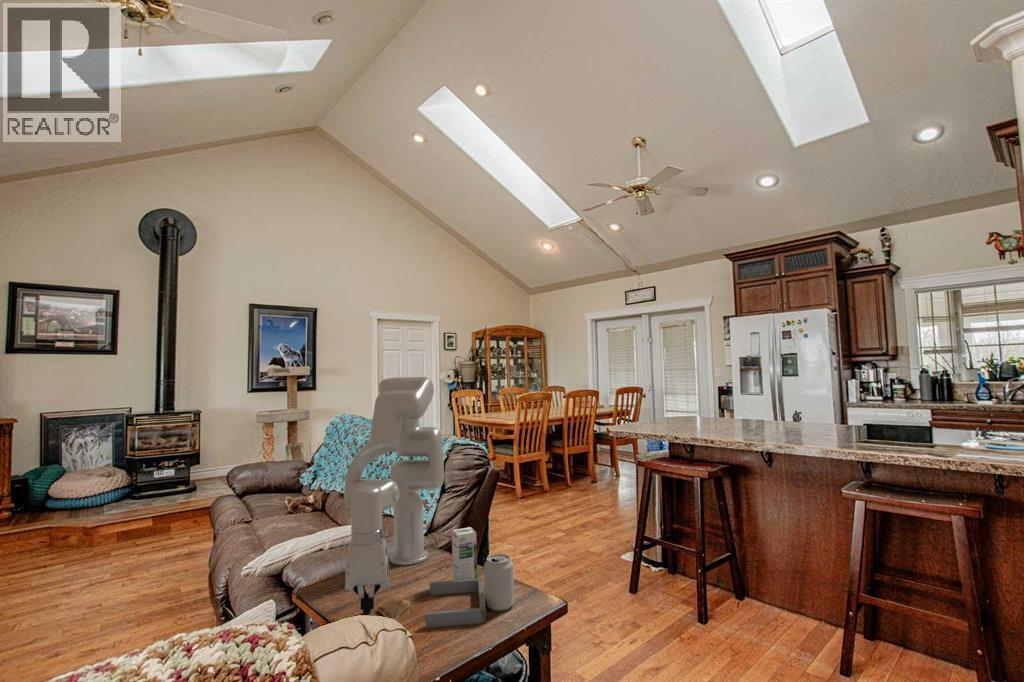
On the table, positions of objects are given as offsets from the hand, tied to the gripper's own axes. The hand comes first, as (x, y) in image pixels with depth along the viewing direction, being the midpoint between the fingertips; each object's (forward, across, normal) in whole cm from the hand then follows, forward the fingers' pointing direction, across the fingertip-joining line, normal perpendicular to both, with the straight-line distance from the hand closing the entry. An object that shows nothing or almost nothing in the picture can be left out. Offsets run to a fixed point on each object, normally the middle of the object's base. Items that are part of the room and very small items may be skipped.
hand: (367, 612), depth 121 cm
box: (+1, -22, 0) cm, 22 cm away
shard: (+1, -8, 0) cm, 8 cm away
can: (+1, -33, +1) cm, 33 cm away
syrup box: (+1, -24, -15) cm, 29 cm away
